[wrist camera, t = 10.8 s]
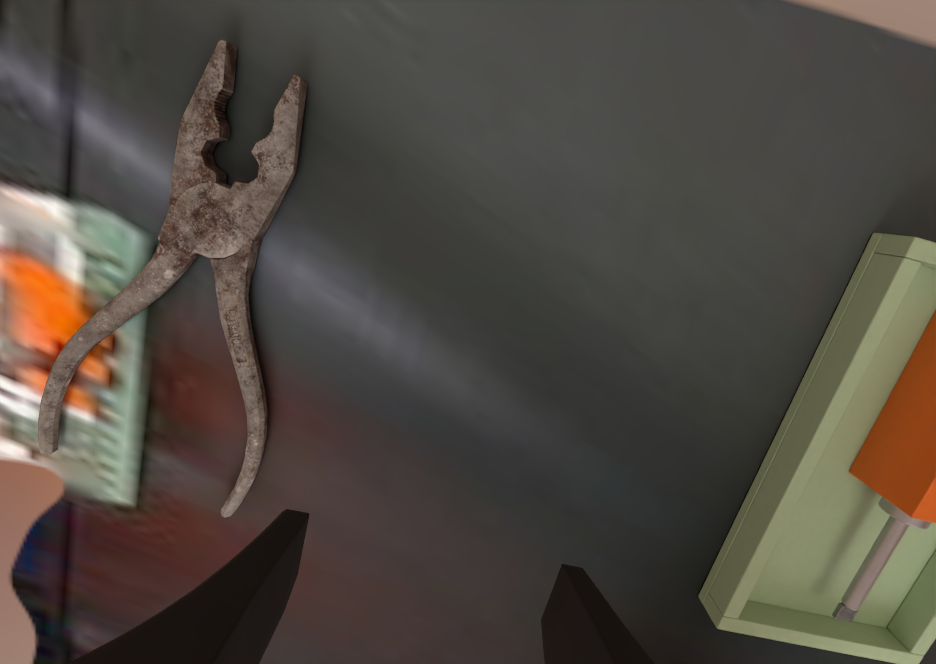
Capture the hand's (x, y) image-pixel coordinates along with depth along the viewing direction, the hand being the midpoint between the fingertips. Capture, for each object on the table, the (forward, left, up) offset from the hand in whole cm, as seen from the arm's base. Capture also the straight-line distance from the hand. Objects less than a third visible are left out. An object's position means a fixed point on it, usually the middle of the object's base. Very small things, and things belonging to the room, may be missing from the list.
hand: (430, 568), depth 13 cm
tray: (-7, -20, -9) cm, 23 cm away
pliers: (+8, +10, -9) cm, 16 cm away
